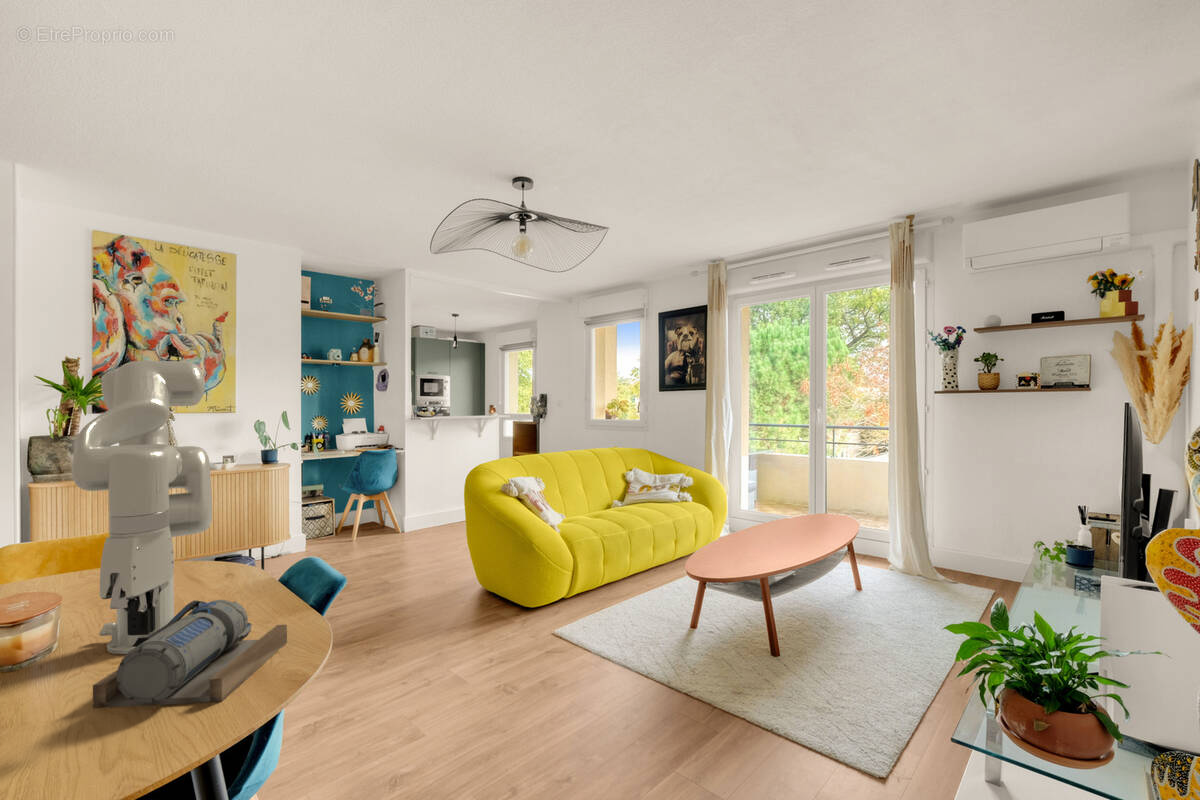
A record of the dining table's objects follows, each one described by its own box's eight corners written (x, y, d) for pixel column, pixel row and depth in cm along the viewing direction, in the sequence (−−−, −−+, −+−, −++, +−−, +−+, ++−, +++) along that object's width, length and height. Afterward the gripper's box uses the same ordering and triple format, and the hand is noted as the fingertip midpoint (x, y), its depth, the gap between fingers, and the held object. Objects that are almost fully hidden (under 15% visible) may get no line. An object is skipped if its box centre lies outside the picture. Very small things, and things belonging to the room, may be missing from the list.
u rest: (93, 708, 90) (92, 685, 90) (184, 647, 112) (184, 628, 112) (222, 701, 92) (221, 678, 92) (287, 643, 114) (286, 624, 114)
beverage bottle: (84, 683, 87) (183, 620, 112) (159, 719, 89) (241, 649, 114) (119, 629, 88) (210, 579, 113) (193, 666, 90) (267, 608, 114)
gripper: (151, 513, 95) (152, 615, 95) (74, 535, 80) (76, 656, 80) (194, 512, 95) (196, 613, 95) (126, 534, 80) (128, 654, 81)
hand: (141, 632), depth 88 cm, fingers closed
